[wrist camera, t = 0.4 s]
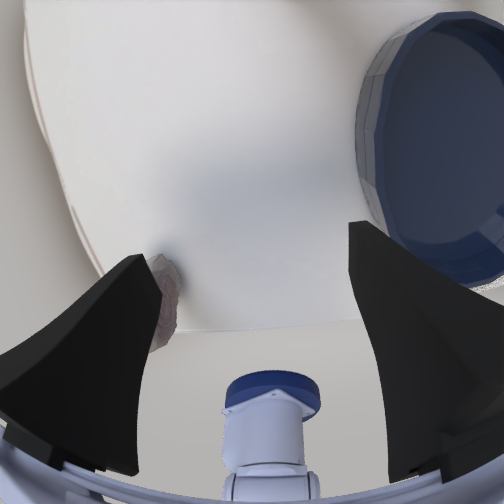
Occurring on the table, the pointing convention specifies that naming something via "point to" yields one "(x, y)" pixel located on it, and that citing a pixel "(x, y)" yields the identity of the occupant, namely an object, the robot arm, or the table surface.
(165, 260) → the fossil
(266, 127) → the table surface
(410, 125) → the round tray
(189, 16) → the table surface
